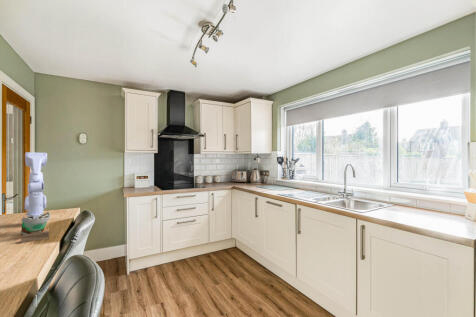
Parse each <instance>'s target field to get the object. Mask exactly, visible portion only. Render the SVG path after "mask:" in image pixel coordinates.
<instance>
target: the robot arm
mask: <svg viewBox="0 0 476 317" xmlns="http://www.w3.org/2000/svg"><path fill="white" fill-rule="evenodd" d="M24 162H25V166H26V167H28V168H30V170H31V172H30V173H29V175H28V183H27V193H28V194H27V196H25V199H24V210H25V211H27V212H26V213H25V216H27V217H26V218H29V217H32V216H33V218H38V216H39V215H42V214H44V210H45V209H46V208H47V196H46V195H44V192H45V182H44V174H43V172H41V171H42V169H43V167H46V165H47V164H48V163H47V162H48V153H47V152H32V151H31V152H30V151H29V152H28V151H27V152H25V154H24Z"/></svg>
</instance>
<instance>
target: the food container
mask: <svg viewBox="0 0 476 317" xmlns="http://www.w3.org/2000/svg"><path fill="white" fill-rule="evenodd" d="M50 220H51V214H50V212H49V211H47V212H46V213H43V214H42V215H39V216H38V218H33V216H32V217H29V218H27V217H24V216H23V217H22V219H21V228H20V230H21V231H20V236H22V235H27V234H33V233H39V232H45V228H46V226H47V223H48V221H50Z"/></svg>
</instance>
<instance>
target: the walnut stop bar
mask: <svg viewBox="0 0 476 317" xmlns="http://www.w3.org/2000/svg"><path fill="white" fill-rule="evenodd" d="M20 236H21V237H20V238H21V239H20V240H21V241H20V242H21V244H25V243H31V242H36V241H41V240H42V241H43V240H47V239H49V238H50V231H49V230H44V231H43V232H39V233H33V234H27V235H20Z"/></svg>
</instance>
